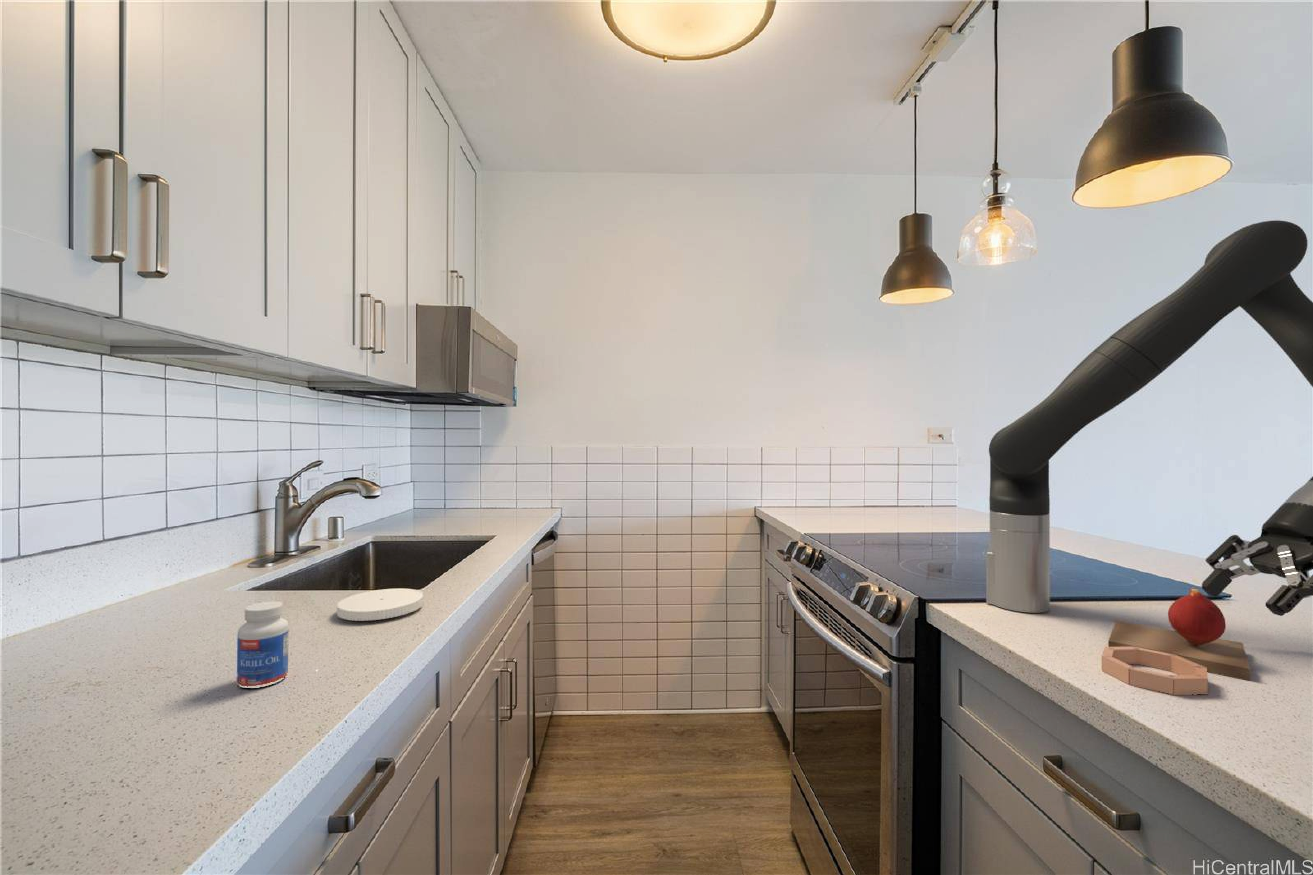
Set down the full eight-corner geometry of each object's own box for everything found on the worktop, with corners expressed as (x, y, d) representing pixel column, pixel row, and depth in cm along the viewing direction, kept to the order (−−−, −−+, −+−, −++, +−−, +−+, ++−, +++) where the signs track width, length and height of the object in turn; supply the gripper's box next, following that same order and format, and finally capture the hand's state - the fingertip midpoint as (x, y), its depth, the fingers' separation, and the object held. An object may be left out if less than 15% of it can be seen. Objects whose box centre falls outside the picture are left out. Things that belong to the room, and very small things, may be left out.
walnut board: (1108, 651, 80) (1108, 640, 80) (1115, 629, 89) (1115, 620, 89) (1249, 680, 70) (1249, 668, 70) (1242, 653, 79) (1242, 643, 79)
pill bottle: (232, 694, 67) (232, 615, 67) (241, 677, 72) (241, 603, 72) (286, 685, 70) (285, 608, 70) (291, 669, 75) (290, 597, 75)
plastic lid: (415, 623, 94) (415, 608, 94) (324, 629, 91) (324, 614, 91) (429, 599, 108) (429, 586, 108) (351, 604, 104) (350, 591, 104)
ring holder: (1099, 677, 71) (1099, 662, 71) (1106, 655, 78) (1107, 641, 78) (1208, 703, 64) (1208, 686, 64) (1205, 676, 72) (1206, 660, 72)
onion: (1208, 640, 80) (1210, 585, 80) (1235, 656, 74) (1237, 597, 74) (1158, 635, 82) (1160, 581, 81) (1181, 650, 76) (1184, 593, 76)
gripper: (1244, 495, 85) (1172, 570, 85) (1364, 507, 71) (1277, 597, 71) (1278, 529, 85) (1206, 604, 85) (1404, 548, 71) (1318, 638, 71)
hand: (1238, 601), depth 78 cm, fingers open, 8 cm apart
